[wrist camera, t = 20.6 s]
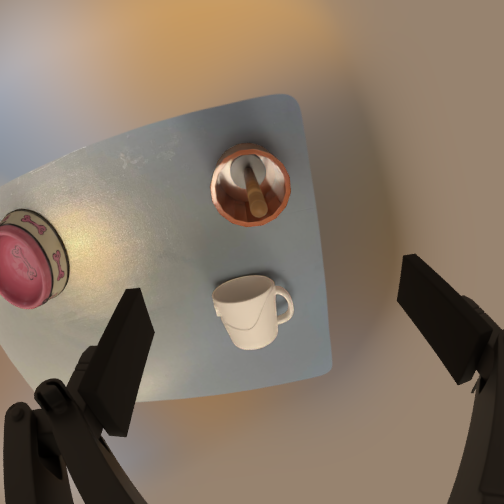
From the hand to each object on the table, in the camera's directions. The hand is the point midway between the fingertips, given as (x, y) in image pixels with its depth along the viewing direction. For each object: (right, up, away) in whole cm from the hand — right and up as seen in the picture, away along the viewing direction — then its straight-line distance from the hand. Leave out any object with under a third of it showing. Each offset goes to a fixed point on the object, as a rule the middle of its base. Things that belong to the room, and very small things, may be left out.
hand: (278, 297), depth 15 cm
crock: (-2, +13, +30) cm, 33 cm away
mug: (-1, -6, +39) cm, 39 cm away
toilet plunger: (-2, +14, +29) cm, 32 cm away
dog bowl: (-43, +1, +33) cm, 54 cm away
